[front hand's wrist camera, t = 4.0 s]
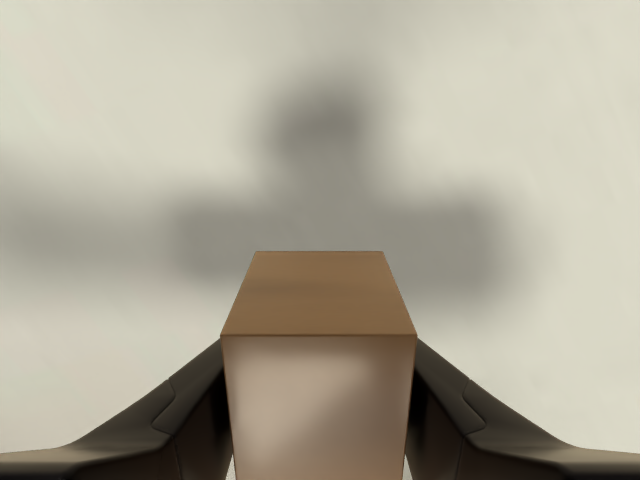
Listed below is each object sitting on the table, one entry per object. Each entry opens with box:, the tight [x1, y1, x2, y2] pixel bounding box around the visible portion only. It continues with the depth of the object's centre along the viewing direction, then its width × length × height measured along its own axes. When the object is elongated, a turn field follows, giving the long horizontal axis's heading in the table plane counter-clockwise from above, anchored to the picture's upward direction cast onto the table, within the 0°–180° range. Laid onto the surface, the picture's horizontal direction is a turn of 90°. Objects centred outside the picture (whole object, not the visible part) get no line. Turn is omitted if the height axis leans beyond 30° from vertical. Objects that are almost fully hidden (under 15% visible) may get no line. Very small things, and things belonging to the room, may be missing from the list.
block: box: [220, 251, 418, 480], centre depth 10 cm, size 5×4×4 cm
